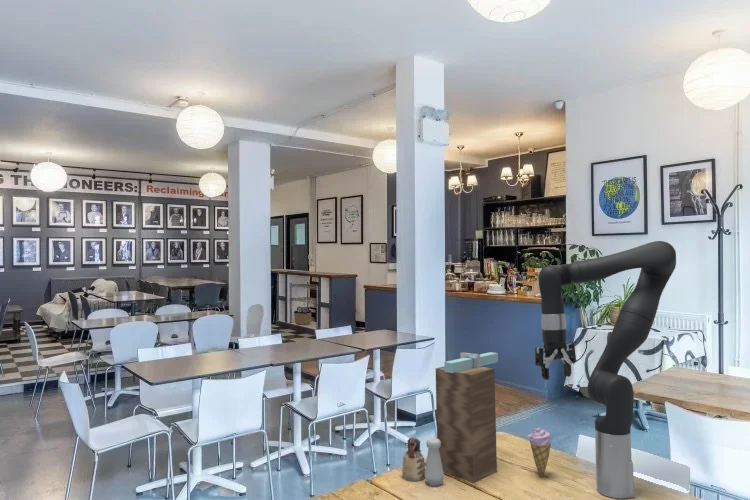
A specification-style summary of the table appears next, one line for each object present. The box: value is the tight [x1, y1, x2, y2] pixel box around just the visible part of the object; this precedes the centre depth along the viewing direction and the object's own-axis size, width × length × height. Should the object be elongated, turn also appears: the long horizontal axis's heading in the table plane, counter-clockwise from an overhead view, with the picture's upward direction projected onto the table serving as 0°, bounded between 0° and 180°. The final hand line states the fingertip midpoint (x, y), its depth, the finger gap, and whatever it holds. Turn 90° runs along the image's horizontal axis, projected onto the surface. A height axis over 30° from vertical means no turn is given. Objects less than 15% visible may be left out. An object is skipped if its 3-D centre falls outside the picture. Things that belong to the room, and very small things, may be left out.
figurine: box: [401, 436, 426, 482], centre depth 158 cm, size 7×7×12 cm
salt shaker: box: [424, 437, 445, 487], centre depth 153 cm, size 6×6×13 cm
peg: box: [443, 351, 499, 373], centre depth 166 cm, size 24×3×3 cm, turn 132°
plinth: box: [435, 365, 498, 484], centre depth 162 cm, size 14×12×32 cm
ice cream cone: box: [527, 427, 552, 478], centre depth 157 cm, size 7×6×15 cm
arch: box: [459, 351, 482, 369], centre depth 165 cm, size 7×2×4 cm, turn 42°
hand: (556, 377), depth 166 cm, fingers open, 8 cm apart
